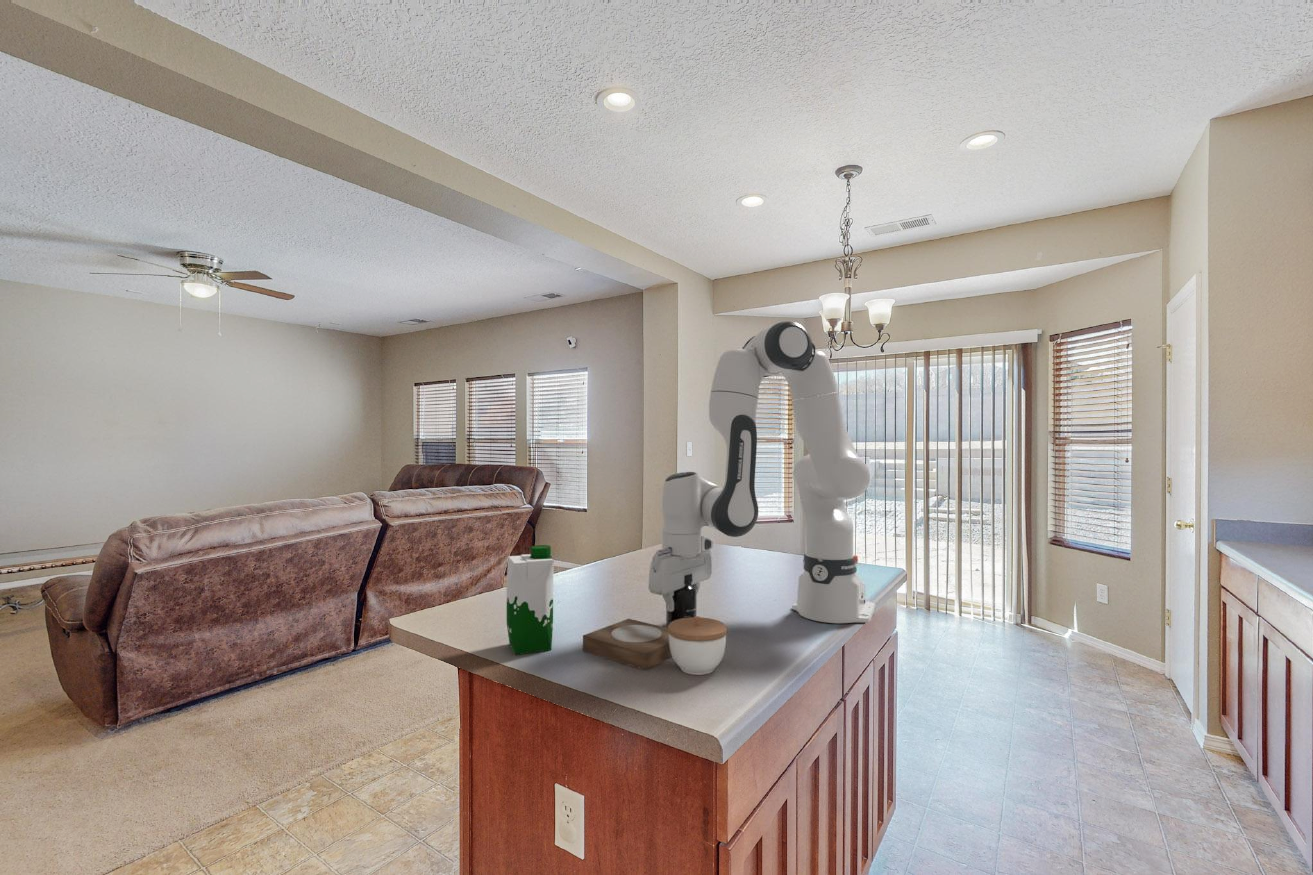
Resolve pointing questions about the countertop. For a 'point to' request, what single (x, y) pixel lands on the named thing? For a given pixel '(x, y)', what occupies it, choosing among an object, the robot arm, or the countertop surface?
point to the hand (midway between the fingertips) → (681, 606)
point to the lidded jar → (697, 644)
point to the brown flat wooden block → (630, 643)
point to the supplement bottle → (684, 602)
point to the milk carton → (530, 600)
